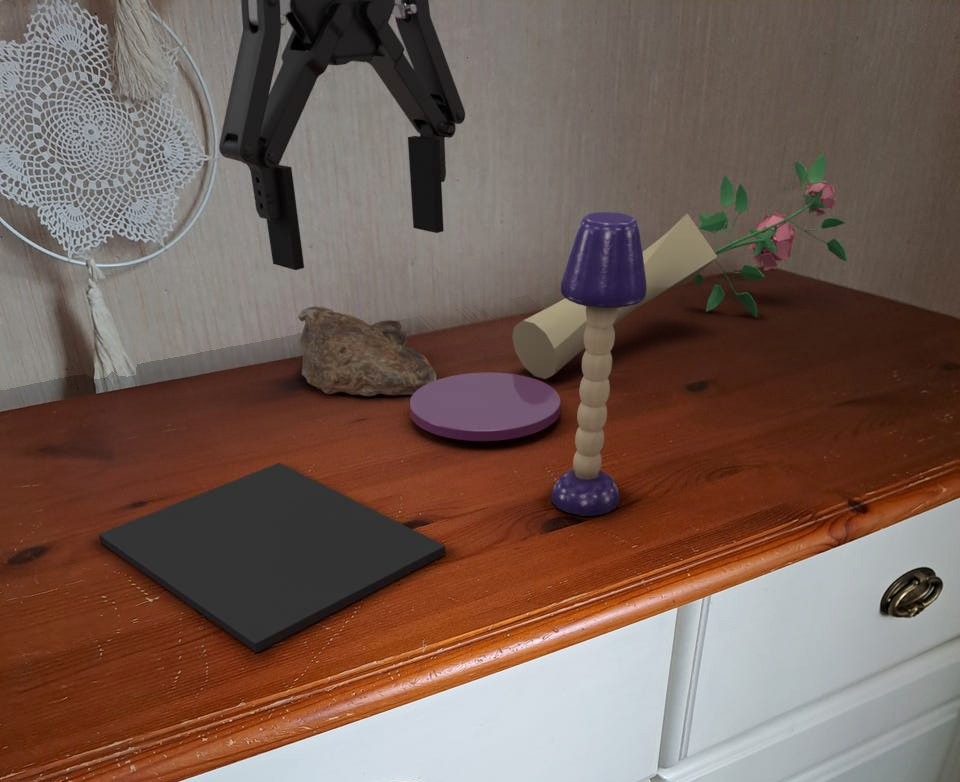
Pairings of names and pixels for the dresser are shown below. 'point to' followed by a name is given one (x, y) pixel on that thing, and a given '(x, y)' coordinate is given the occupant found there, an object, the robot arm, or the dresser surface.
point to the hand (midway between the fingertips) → (362, 247)
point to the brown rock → (359, 355)
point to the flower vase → (679, 270)
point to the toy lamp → (598, 346)
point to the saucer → (485, 406)
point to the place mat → (270, 552)
